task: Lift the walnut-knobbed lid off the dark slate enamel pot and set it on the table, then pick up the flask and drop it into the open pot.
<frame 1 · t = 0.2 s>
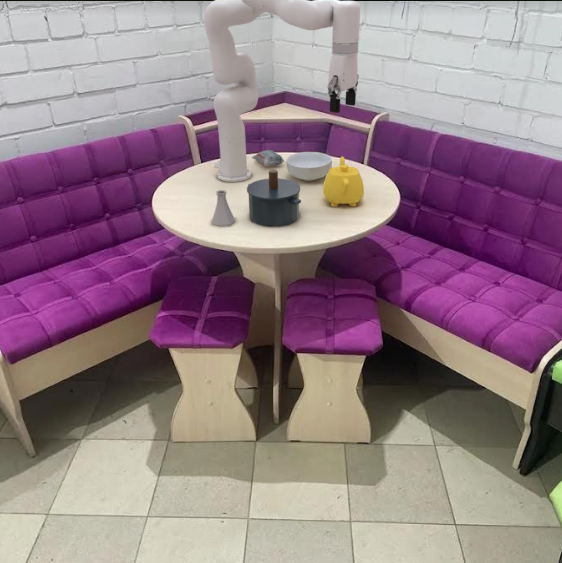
hand: (342, 108, 172), 31 cm above the table, tool pointing down, fingers open, 9 cm apart
pot lid: (273, 189, 175), point 9 cm above the table, touching pot
packaged food: (267, 165, 221), on the table
pot: (274, 216, 180), on the table
teapot: (342, 200, 190), on the table
cereal bowl: (308, 177, 209), on the table
flask: (223, 222, 177), on the table
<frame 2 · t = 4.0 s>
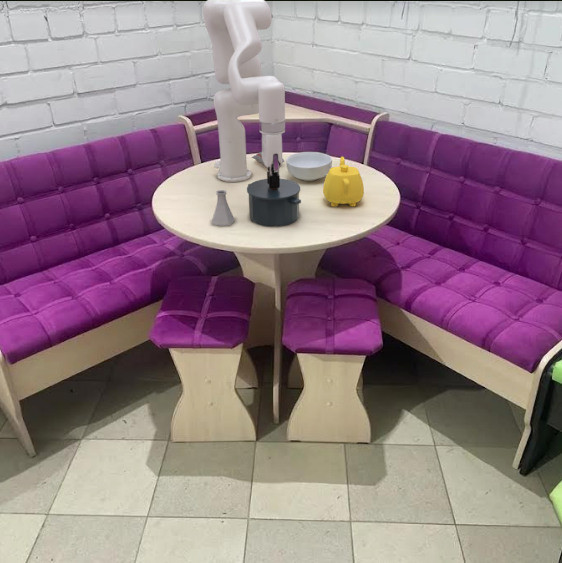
hand: (273, 185, 174), 11 cm above the table, tool pointing down, fingers closed on pot lid, 2 cm apart
pot lid: (273, 189, 175), point 9 cm above the table, touching gripper, pot
everything else where it was.
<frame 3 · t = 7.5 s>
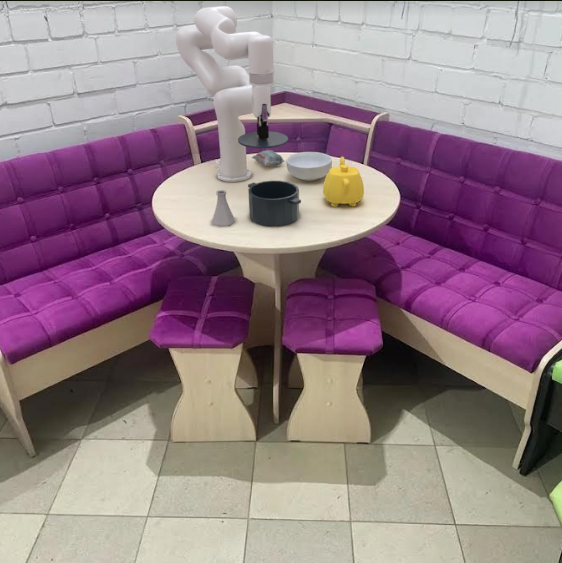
hand: (262, 136, 186), 20 cm above the table, tool pointing down, fingers closed on pot lid, 2 cm apart
pot lid: (263, 140, 186), point 19 cm above the table, touching gripper
everything else where it was.
when the fingers open (2 cm above the table, at t = 11.1 s): pot lid stays where it is, point 1 cm above the table.
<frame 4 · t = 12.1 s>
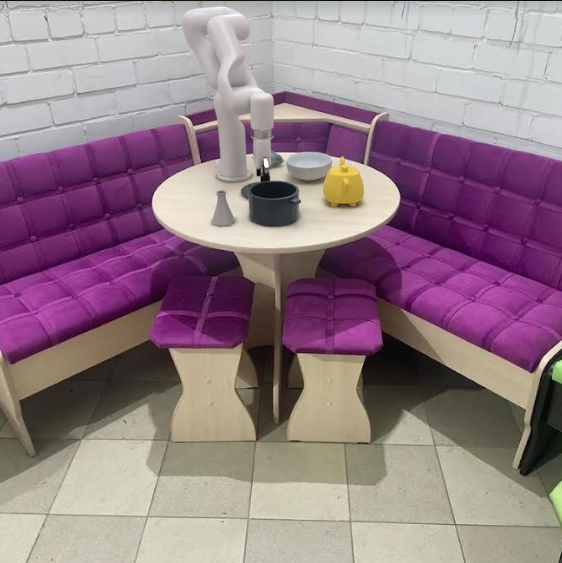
hand: (263, 181, 195), 4 cm above the table, tool pointing down, fingers open, 9 cm apart
pot lid: (265, 191, 196), point 1 cm above the table
everything else where it was.
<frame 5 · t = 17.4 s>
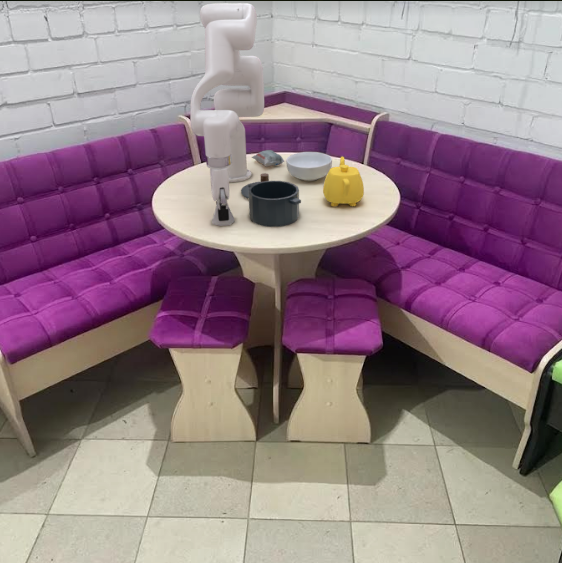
hand: (223, 216, 176), 2 cm above the table, tool pointing down, fingers closed on flask, 4 cm apart
flask: (223, 222, 177), on the table, touching gripper
everything else where it was.
when the fingers open (8 cm above the table, at t = 24.1 s): flask drops 6 cm, resting on pot.
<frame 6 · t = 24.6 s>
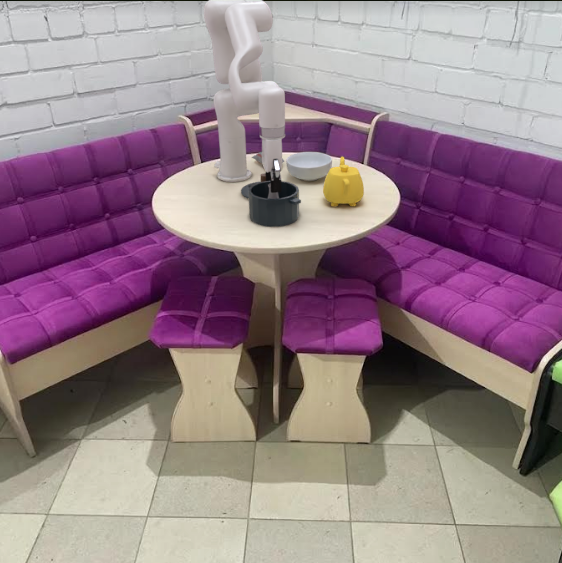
hand: (273, 186, 174), 10 cm above the table, tool pointing down, fingers open, 9 cm apart
flask: (273, 215, 180), resting on pot
everything else where it was.
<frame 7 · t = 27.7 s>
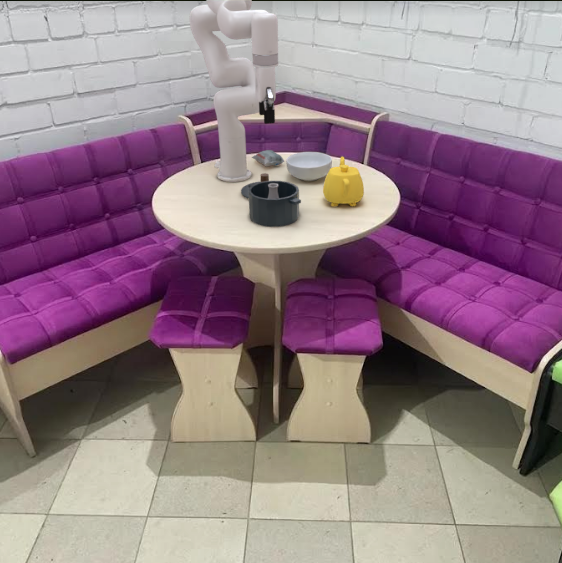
hand: (266, 118, 173), 28 cm above the table, tool pointing down, fingers open, 9 cm apart
nothing on the table moved.
at the end: pot lid inside the target area (0.3 cm from its centre), point 0.6 cm above the table; pot lid tilted 0°; flask inside the target area in the pot (0.1 cm from its centre), point 0.3 cm above the pot's base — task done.
